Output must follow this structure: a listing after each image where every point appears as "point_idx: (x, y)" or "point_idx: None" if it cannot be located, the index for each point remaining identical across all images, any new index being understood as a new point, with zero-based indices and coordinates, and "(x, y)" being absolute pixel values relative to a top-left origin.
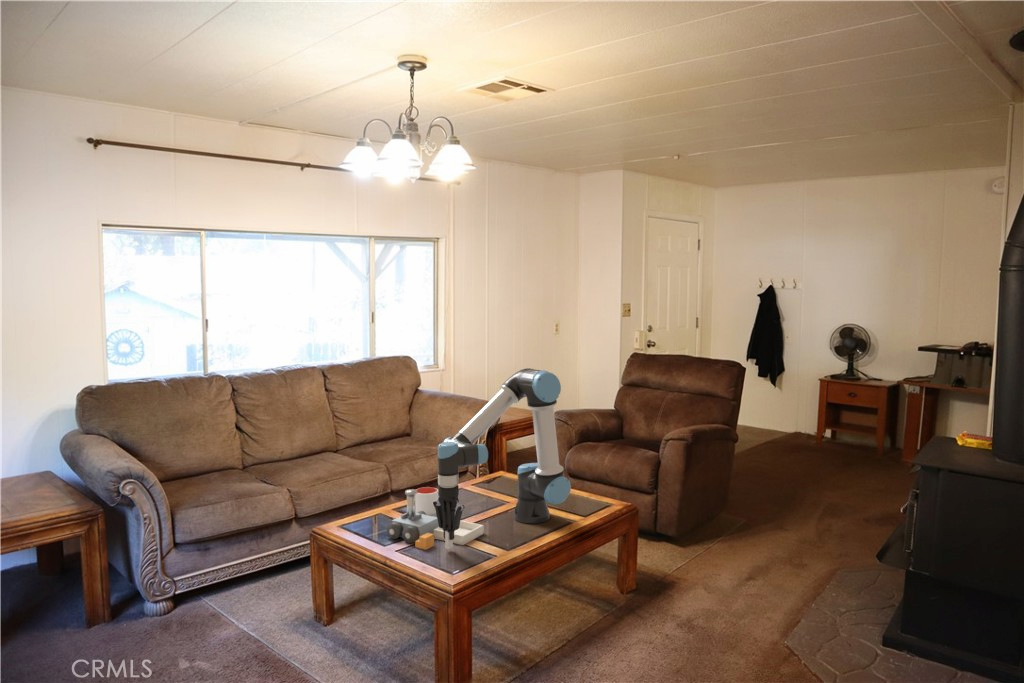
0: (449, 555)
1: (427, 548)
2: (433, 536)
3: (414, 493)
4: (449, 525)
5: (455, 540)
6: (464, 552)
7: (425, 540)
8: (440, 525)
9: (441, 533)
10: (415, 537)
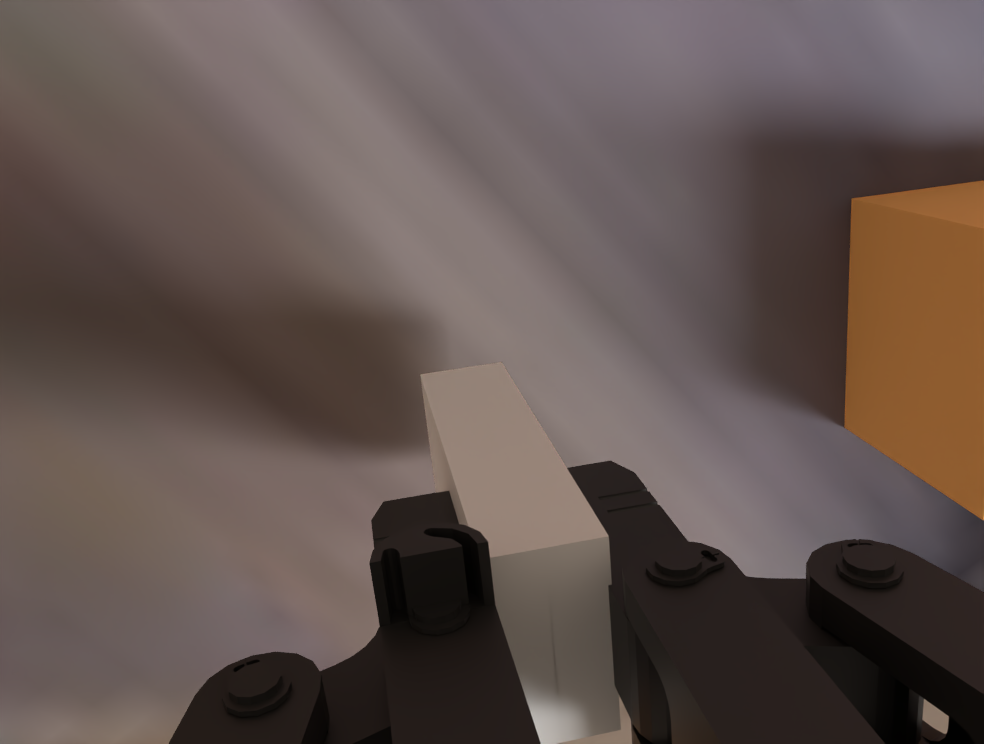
0: (311, 279)
1: (855, 247)
2: (953, 484)
3: None
4: (474, 733)
5: (621, 729)
6: (199, 549)
7: (978, 226)
8: (875, 595)
9: (942, 714)
10: None
